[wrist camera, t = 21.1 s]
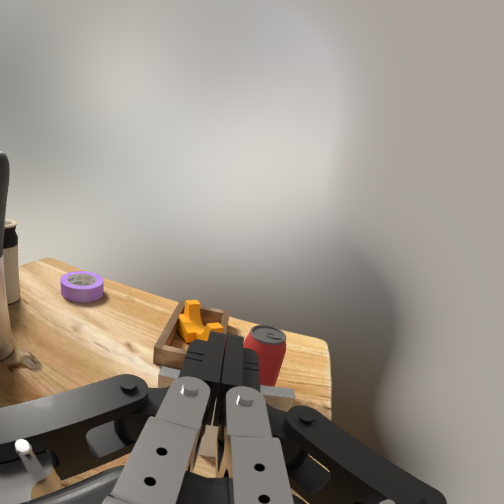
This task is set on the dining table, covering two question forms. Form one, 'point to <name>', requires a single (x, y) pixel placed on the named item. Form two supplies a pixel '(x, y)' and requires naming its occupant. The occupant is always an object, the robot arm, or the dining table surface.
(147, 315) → the dining table surface
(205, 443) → the white rectangular block
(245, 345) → the beer can
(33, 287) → the dining table surface
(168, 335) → the parts corral
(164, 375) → the rail
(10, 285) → the travel mug
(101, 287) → the masking tape
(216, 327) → the pipe clamp
